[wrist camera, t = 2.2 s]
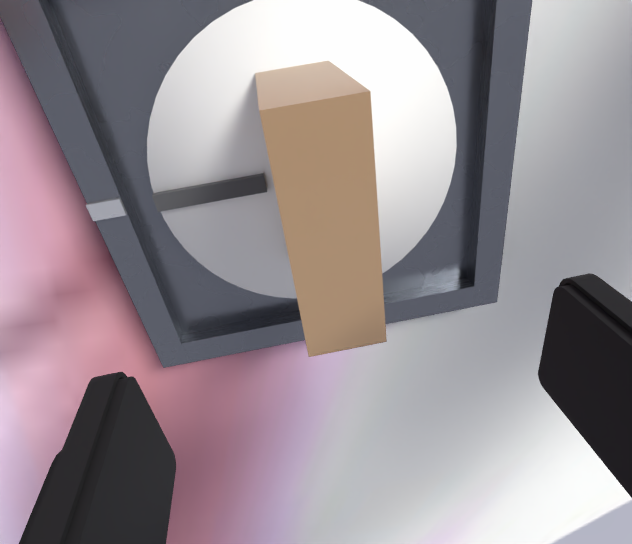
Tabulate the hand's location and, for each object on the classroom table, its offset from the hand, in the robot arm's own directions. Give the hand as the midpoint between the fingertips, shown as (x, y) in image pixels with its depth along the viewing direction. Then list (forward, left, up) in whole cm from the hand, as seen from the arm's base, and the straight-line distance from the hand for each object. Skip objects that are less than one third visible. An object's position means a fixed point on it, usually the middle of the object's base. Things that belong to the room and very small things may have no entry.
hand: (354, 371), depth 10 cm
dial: (0, 0, -13) cm, 13 cm away
